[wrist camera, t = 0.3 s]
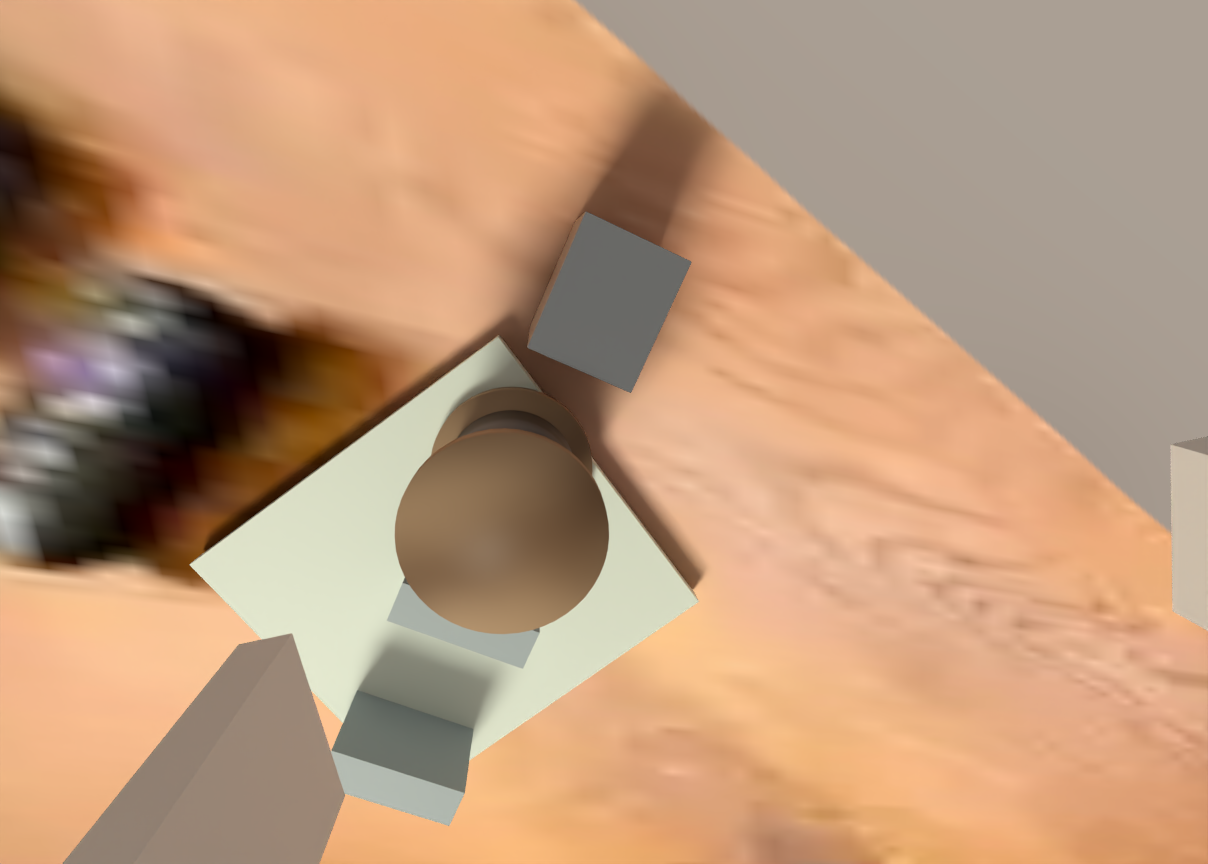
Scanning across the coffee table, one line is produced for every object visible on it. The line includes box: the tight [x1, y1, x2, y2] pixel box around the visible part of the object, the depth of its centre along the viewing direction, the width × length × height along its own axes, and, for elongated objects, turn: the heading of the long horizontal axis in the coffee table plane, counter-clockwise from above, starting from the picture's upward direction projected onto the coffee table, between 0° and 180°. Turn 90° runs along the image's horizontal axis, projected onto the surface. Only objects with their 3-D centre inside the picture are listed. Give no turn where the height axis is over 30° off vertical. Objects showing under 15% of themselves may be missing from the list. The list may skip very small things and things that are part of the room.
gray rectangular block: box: [527, 211, 691, 393], centre depth 29 cm, size 4×5×8 cm
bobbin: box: [395, 387, 609, 634], centre depth 29 cm, size 7×7×9 cm
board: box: [190, 335, 699, 760], centre depth 35 cm, size 16×18×1 cm
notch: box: [331, 578, 540, 826], centre depth 33 cm, size 6×10×4 cm, turn 156°
